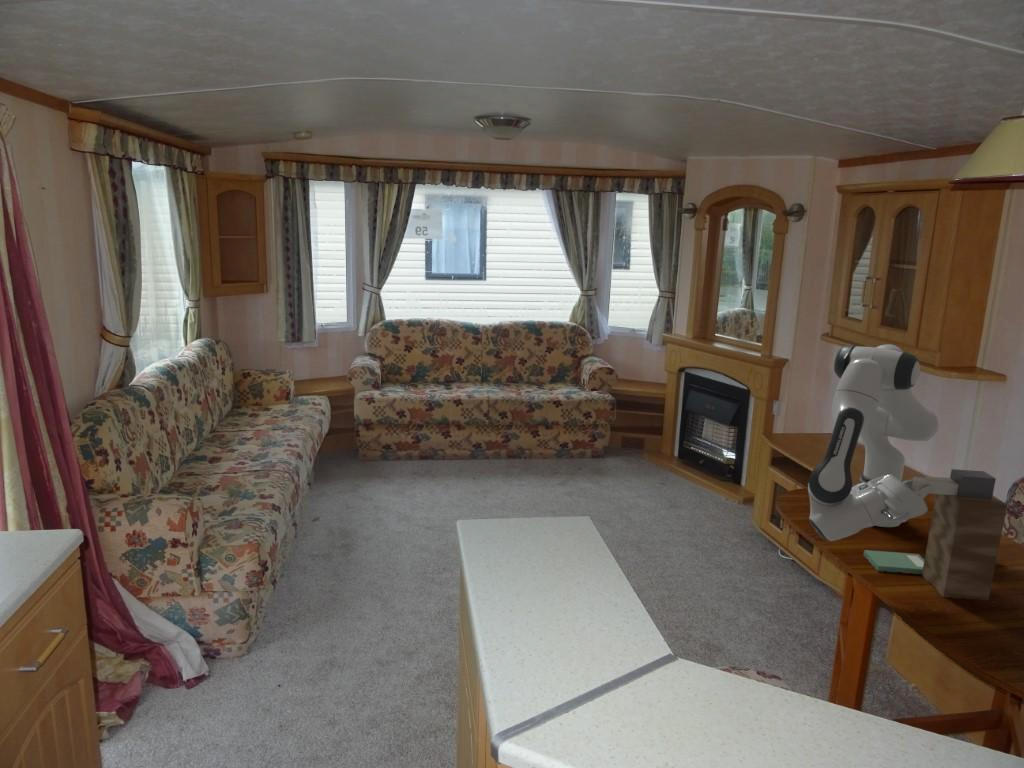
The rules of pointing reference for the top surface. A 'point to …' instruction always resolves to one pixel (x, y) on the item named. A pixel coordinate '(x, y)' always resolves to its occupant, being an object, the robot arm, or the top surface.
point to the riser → (963, 545)
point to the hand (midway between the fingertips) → (927, 483)
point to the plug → (960, 484)
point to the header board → (895, 561)
